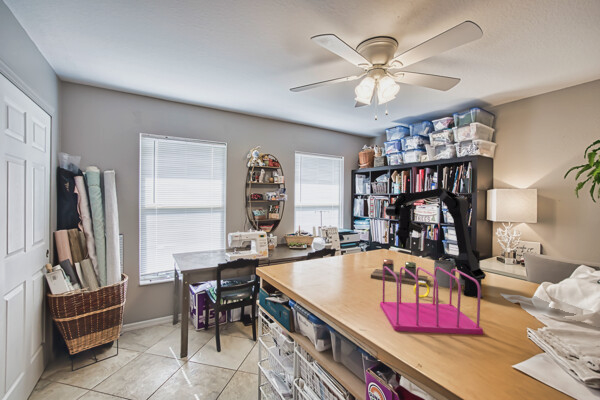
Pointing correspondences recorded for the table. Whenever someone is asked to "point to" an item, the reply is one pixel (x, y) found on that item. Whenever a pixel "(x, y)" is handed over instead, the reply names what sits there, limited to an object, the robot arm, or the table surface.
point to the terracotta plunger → (388, 261)
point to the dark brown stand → (398, 275)
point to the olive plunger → (410, 264)
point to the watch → (422, 284)
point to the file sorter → (430, 310)
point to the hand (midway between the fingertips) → (404, 248)
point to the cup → (442, 276)
